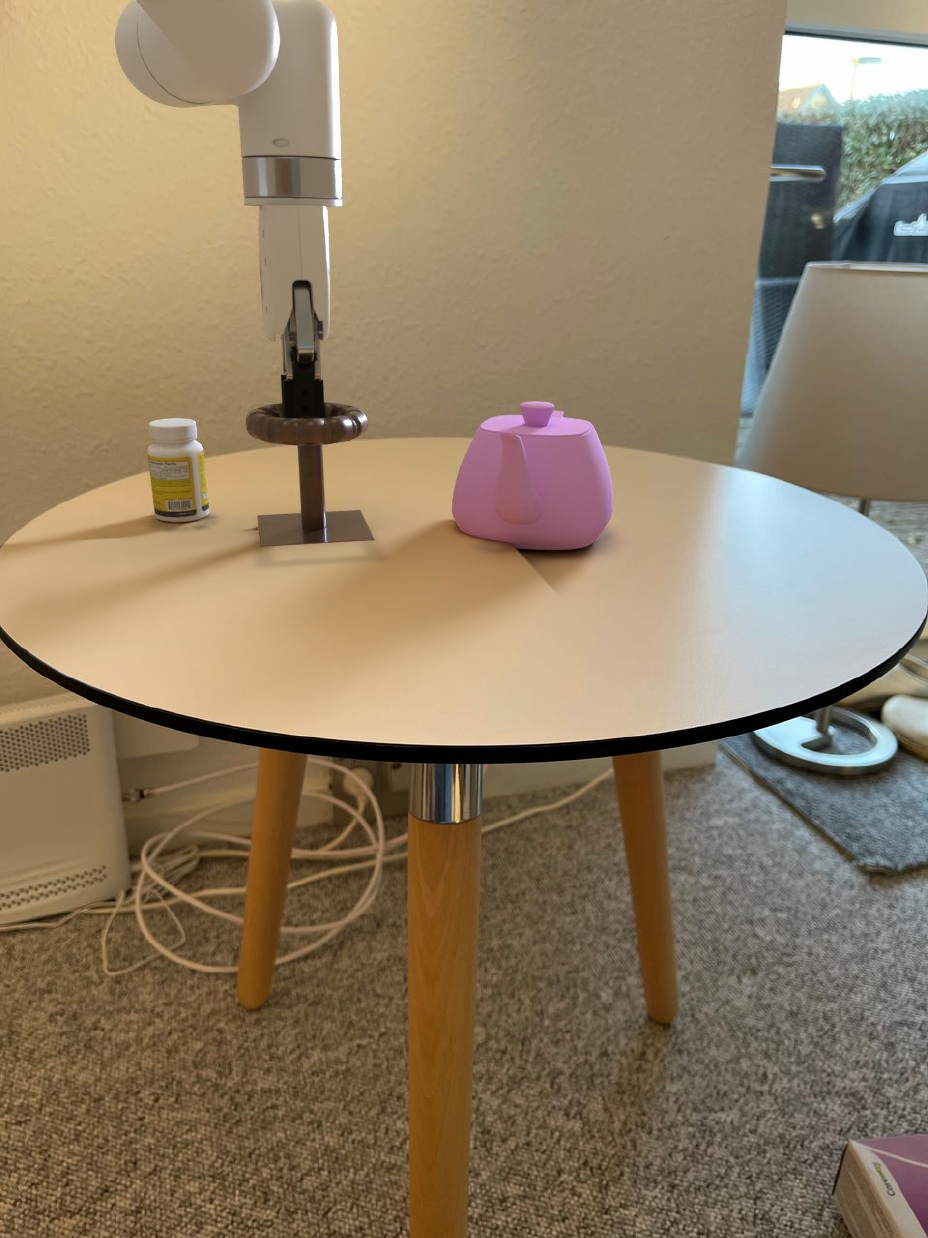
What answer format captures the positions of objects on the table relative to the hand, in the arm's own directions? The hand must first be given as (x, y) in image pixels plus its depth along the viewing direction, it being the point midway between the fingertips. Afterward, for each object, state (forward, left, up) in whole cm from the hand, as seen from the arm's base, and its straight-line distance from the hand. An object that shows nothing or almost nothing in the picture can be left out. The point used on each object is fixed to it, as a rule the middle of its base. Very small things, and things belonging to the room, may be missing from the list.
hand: (303, 423), depth 82 cm
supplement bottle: (-11, +5, -9) cm, 15 cm away
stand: (0, -4, -9) cm, 10 cm away
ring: (0, -4, +1) cm, 4 cm away
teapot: (+18, -7, -9) cm, 21 cm away
